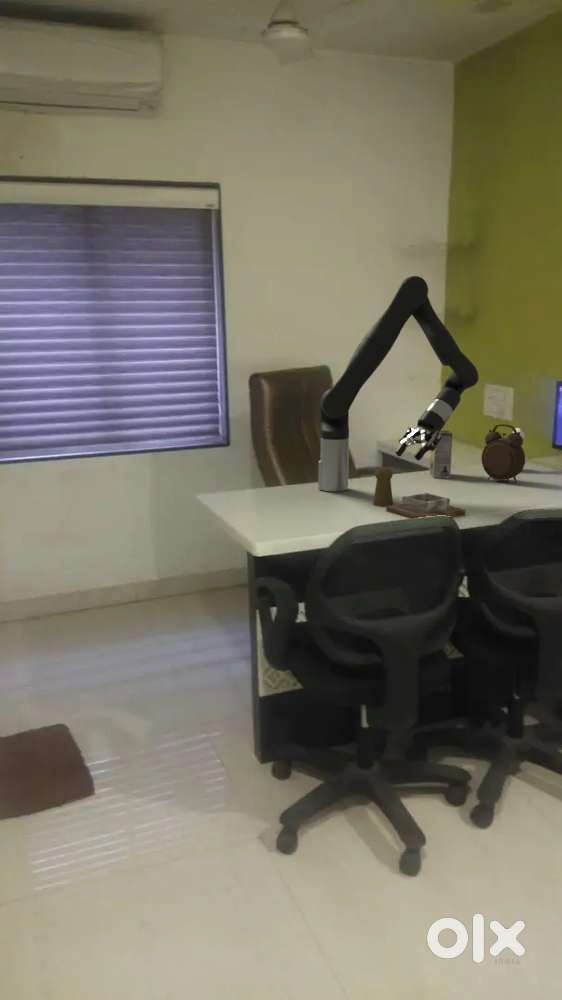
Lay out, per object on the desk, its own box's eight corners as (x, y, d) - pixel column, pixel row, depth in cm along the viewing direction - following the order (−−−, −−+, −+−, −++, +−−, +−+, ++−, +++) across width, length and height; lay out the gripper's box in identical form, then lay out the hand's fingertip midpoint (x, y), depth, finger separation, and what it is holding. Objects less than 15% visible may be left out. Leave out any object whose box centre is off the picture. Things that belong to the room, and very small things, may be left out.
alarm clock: (526, 483, 264) (530, 425, 259) (514, 486, 259) (518, 427, 255) (490, 477, 275) (494, 421, 270) (478, 479, 270) (481, 423, 266)
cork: (395, 503, 235) (396, 467, 232) (389, 507, 229) (390, 471, 227) (376, 501, 237) (377, 466, 235) (370, 505, 232) (371, 469, 229)
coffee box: (428, 473, 281) (430, 430, 278) (446, 473, 281) (448, 430, 278) (433, 478, 272) (435, 433, 269) (451, 478, 272) (453, 433, 269)
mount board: (424, 522, 211) (425, 506, 210) (386, 511, 224) (386, 496, 223) (465, 514, 220) (465, 499, 219) (425, 504, 233) (426, 489, 232)
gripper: (413, 407, 242) (385, 446, 239) (446, 411, 231) (416, 452, 227) (425, 422, 246) (397, 461, 243) (457, 427, 235) (429, 467, 231)
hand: (406, 456), depth 235 cm, fingers open, 8 cm apart
